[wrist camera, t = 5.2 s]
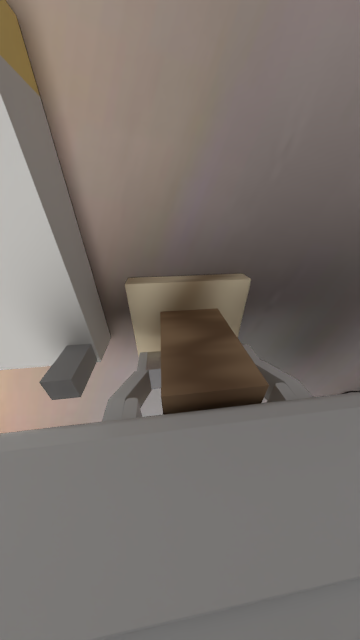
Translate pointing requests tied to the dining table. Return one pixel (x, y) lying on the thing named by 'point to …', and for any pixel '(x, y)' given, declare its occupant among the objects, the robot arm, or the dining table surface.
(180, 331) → the wooden block on base
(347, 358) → the dining table surface
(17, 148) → the dock
